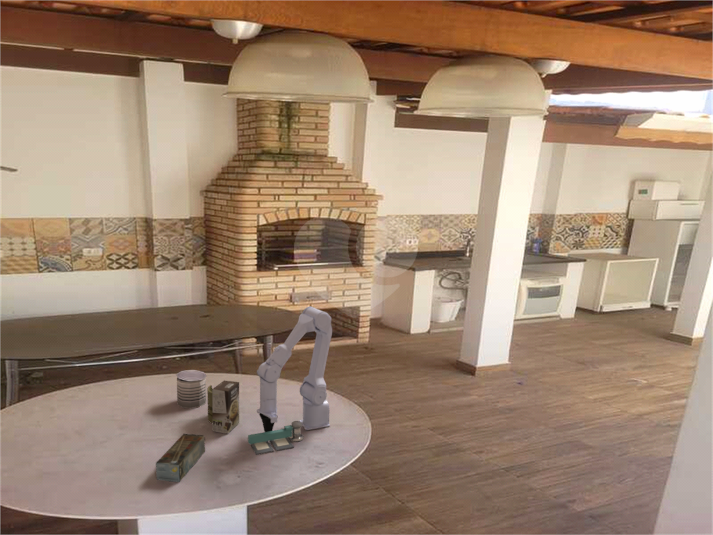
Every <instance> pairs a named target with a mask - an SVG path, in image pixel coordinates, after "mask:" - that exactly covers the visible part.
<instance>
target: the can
mask: <svg viewBox="0 0 713 535" xmlns="http://www.w3.org/2000/svg"><path fill="white" fill-rule="evenodd" d="M175 376H176V392H177V394H176V395H177V396H176V398H177V401H176V402H177V406H178V405H179V406H178V407H180V408H181V407H183V408H182V409H189V408H191V409H196V408H195V407H197V408H200V406H201V407H202V406H204V405H205V404H206V402H207V377H208V375H207V374H206V373H205V372H204V371H202V370H196V369H187V370H181V371H179V372H178V373H176V374H175Z"/></svg>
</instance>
